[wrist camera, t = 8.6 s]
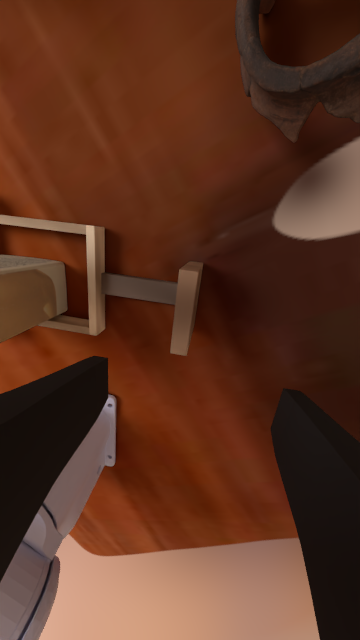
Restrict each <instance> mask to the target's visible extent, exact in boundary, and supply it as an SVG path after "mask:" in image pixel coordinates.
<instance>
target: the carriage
mask: <svg viewBox="0 0 360 640" xmlns="http://www.w3.org/2000/svg"><path fill="white" fill-rule="evenodd" d="M0 224H7V225H15V226H22V227H30V228H38V229H46V230H54V231H62V232H70V233H78V234H86V244H87V274H88V303H89V320H87V319H81V318H75V317H69V316H63V315H57V316H55V317H53V318H51V319H49V320H47V321H45V322H42V323H40V324H38V326H44V327H49V328H55V329H61V330H66V331H72V332H78V333H83V334H89V335H95V336H97V335H98V334H99V333H101V332H102V331H103V330H104V329H105V294H108V295H114V296H121V297H127V298H134V299H140V300H147V301H153V302H160V303H166V304H173V305H175V313H174V322H173V331H172V340H171V349H170V353H173V354H178V355H184V356H187V352H188V348H189V344H190V340H191V336H192V333H193V329H194V324H195V317H196V310H197V303H198V297H199V290H200V283H201V276H202V269H203V263H200V262H193V261H189V262H188V263H187V264H186V265H184V266H183V267H182V268H180V269H179V277H178V283H177V282H170V281H163V280H156V279H149V278H142V277H135V276H128V275H121V274H114V273H107V272H105V227H98V226H89V225H81V224H73V223H65V222H56V221H48V220H40V219H32V218H23V217H15V216H7V215H0Z"/></svg>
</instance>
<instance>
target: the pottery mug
mask: <svg viewBox="0 0 360 640" xmlns="http://www.w3.org/2000/svg"><path fill="white" fill-rule="evenodd" d="M274 2H275V0H237V5H236V14H235V28H236V39H237V45H238V49H239V53H240V55H241V59H240V63H241V75H242V80H243V85H244V90H245V93H246V95H247V97H251V101H252V105H253V108H254V109H255V110H256V111H257V112H258V113H259V114H261V115H263V116H264V117H265V118H267V119H269V120H270V121H271V122H273V123H274V124H275V125H276V126H277V127H278V128H279V129H280V130H281V131H282V132H283V134H284V135H285V136H286V137H287V138H288V139H289V140H291V141H292V142H293V143H295V142H296V141H297V140H298V135H299V132H300V130H301V128H302V126H303V125H304V123H305V122H306V120H307V118H308V116H309V114H310V113H311V111H312V110H313V108H314V106H315V105H316V104H317V102H322V104H323V105H324V107H325V109H326V111H327V113H329V114H332V115H333V116H335V117H340V118H351V119H352V120H353V121H354V122H356V123H360V34H358V35H357V36H356V37H355V38H353V39H352V40H351V41H349V42H348V43H347V44H345V45H344V46H343V47H341V48H340V49H339V50H337V51H336V52H334V53H332V54H331V55H328V56H327V57H325V58H323V59H321V60H319V61H316V62H314V63H312V64H310V65H308V66H298V67H291V66H284V65H280V64H277V63H275V62H272V61H271V60H270V59H269V58H268V57H267V55H266V54H265V52H264V50H263V48H262V45H261V41H260V36H259V23H258V20H259V14H261V13H264V14H266V13H269V12H270V10H271V9H272V7H273V5H274Z"/></svg>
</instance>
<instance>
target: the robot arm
mask: <svg viewBox="0 0 360 640" xmlns="http://www.w3.org/2000/svg"><path fill="white" fill-rule="evenodd" d="M110 404H112V405H110ZM271 434H272V440H273V446H274V452H275V457H276V460H277V464H278V467H279V471H280V474H281V478H282V481H283V484H284V488H285V491H286V494H287V498H288V501H289V504H290V508H291V511H292V515H293V518H294V521H295V525H296V528H297V532H298V536H299V540H300V543H301V548H302V552H303V557H304V561H305V566H306V571H307V576H308V581H309V585H310V590H311V595H312V600H313V606H314V611H315V616H316V621H317V626H318V631H319V636H320V640H360V442H358V441H357V440H356V439H355V438H354V437H352V436H351V435H350V434H349V433H348V432H347V431H345V430H344V429H343V428H342V427H341V426H340V425H339V424H337V423H336V422H335V421H334V420H333V419H332V418H331V417H330V416H328V415H327V414H326V413H325V412H324V411H323V410H322V409H321V408H319V407H318V406H317V405H316V404H315V403H314V402H313V401H311V400H310V399H309V398H308V397H307V396H306V395H304V394H303V393H302V392H300V391H297V390H291V389H285V388H283V391H282V394H281V398H280V401H279V404H278V407H277V410H276V413H275V417H274V420H273V423H272V426H271ZM115 458H116V398H115V397H114V396H113V395H109V394H108V358H104V357H99V356H92V357H89V358H87V359H84V360H82V361H80V362H77V363H75V364H73V365H71V366H68V367H66V368H64V369H61V370H59V371H57V372H55V373H52V374H50V375H48V376H45V377H43V378H41V379H38V380H36V381H33V382H31V383H28V384H26V385H23V386H21V387H18V388H16V389H13V390H11V391H8V392H5V393H2V394H0V640H38V639H39V637H40V635H41V633H42V631H43V629H44V626H45V624H46V622H47V619H48V617H49V614H50V611H51V609H52V606H53V603H54V600H55V596H56V593H57V588H58V580H59V579H58V578H59V573H60V561H59V558H58V557H57V556H55V554H56V552H57V550H58V548H59V546H60V544H61V542H62V540H63V539H64V538H65V537H66V536H67V535H68V533H69V532H70V531H71V530H72V528H73V527H74V525H75V524H76V522H77V520H78V518H79V516H80V514H81V512H82V510H83V508H84V506H85V504H86V502H87V500H88V498H89V496H90V494H91V492H92V490H93V488H94V486H95V484H96V482H97V480H98V478H99V476H100V474H101V472H102V470H103V468H104V466H105V465H106V466H114V464H115Z"/></svg>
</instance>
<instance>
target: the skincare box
mask: <svg viewBox="0 0 360 640" xmlns="http://www.w3.org/2000/svg"><path fill="white" fill-rule="evenodd" d="M67 309H68V308H67V289H66V276H65V265H64V263H63V262H60V261H53V260H47V259H40V258H31V257H23V256H13V255H1V254H0V343H1V342H3V341H5V340H7V339H9V338H12V337H14V336H16V335H18V334H20V333H22V332H24V331H26V330H28V329H30V328H32V327H34V326H36V325H38V324H40V323H42V322H45V321H47V320H49V319H51V318H53V317H55V316H57V315H59V314H61V313H63V312H65V311H67Z"/></svg>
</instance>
